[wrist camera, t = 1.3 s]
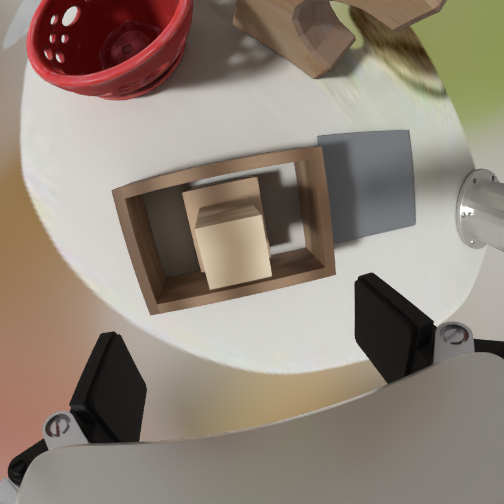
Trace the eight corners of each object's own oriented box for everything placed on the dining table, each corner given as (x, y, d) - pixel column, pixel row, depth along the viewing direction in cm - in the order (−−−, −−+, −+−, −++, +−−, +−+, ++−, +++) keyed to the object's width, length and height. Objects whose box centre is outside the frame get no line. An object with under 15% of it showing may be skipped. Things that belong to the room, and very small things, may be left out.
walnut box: (300, 147, 29) (321, 146, 23) (315, 254, 33) (335, 274, 27) (130, 183, 28) (111, 190, 22) (159, 288, 32) (150, 315, 26)
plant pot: (96, 130, 25) (35, 121, 14) (73, 36, 21) (21, -3, 9) (213, 82, 25) (214, 38, 14) (180, -10, 21) (170, -73, 10)
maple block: (247, 197, 27) (261, 214, 19) (255, 243, 28) (272, 276, 21) (199, 207, 26) (194, 229, 19) (209, 253, 28) (209, 289, 20)
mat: (405, 130, 29) (408, 130, 29) (412, 223, 33) (415, 225, 33) (317, 136, 29) (319, 135, 28) (330, 242, 33) (332, 243, 32)
